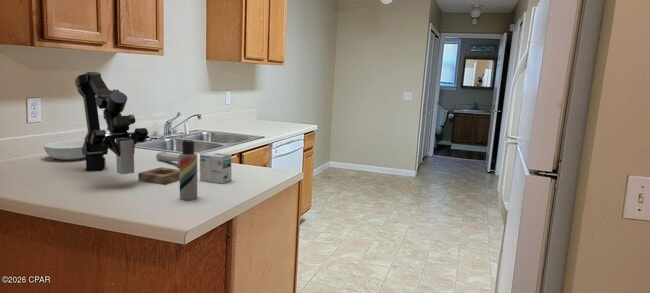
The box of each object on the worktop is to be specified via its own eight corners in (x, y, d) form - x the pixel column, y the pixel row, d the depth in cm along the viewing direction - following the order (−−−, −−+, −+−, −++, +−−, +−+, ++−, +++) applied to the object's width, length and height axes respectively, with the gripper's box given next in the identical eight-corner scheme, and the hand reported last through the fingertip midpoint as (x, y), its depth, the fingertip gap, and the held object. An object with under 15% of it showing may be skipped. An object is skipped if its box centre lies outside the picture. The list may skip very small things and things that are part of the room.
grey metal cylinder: (164, 151, 211) (191, 152, 194) (166, 165, 211) (193, 167, 194) (154, 152, 207) (181, 153, 190) (155, 166, 208) (182, 168, 190)
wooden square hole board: (138, 180, 169) (138, 173, 168) (161, 174, 180) (161, 167, 180) (164, 184, 165) (164, 176, 164) (186, 178, 176) (186, 170, 176)
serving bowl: (49, 155, 209) (48, 140, 208) (98, 153, 217) (98, 140, 216) (39, 163, 190) (38, 148, 189) (94, 162, 198) (93, 147, 197)
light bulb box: (232, 180, 176) (232, 154, 174) (222, 184, 170) (223, 156, 168) (209, 177, 179) (209, 151, 177) (199, 180, 173) (199, 153, 171)
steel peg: (116, 172, 159) (115, 139, 157) (129, 170, 162) (128, 138, 160) (121, 174, 156) (120, 141, 154) (134, 172, 159) (133, 140, 157)
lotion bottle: (182, 195, 151) (181, 138, 148) (198, 196, 152) (198, 138, 149) (177, 200, 146) (177, 140, 143) (195, 200, 146) (195, 141, 143)
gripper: (91, 107, 151) (103, 143, 145) (145, 106, 164) (158, 139, 158) (85, 127, 158) (96, 162, 152) (138, 125, 171) (150, 157, 165)
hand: (126, 155), depth 157 cm, fingers closed on steel peg, 4 cm apart
